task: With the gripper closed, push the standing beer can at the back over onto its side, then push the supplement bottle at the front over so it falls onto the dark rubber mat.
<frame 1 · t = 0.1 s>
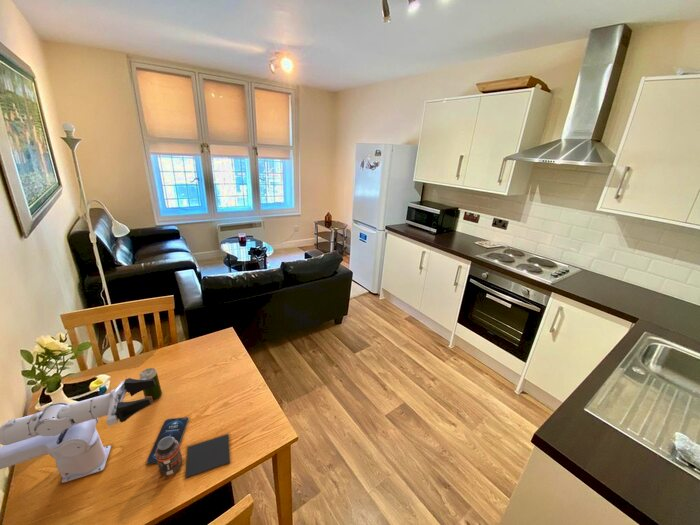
hand: (152, 391, 86), 22 cm above the table, tool horizontal, fingers open, 7 cm apart
smartphone: (169, 439, 94), on the table, touching supplement bottle
supplement bottle: (172, 467, 87), on the table, touching smartphone
beer can: (154, 397, 109), on the table
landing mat: (208, 454, 90), on the table
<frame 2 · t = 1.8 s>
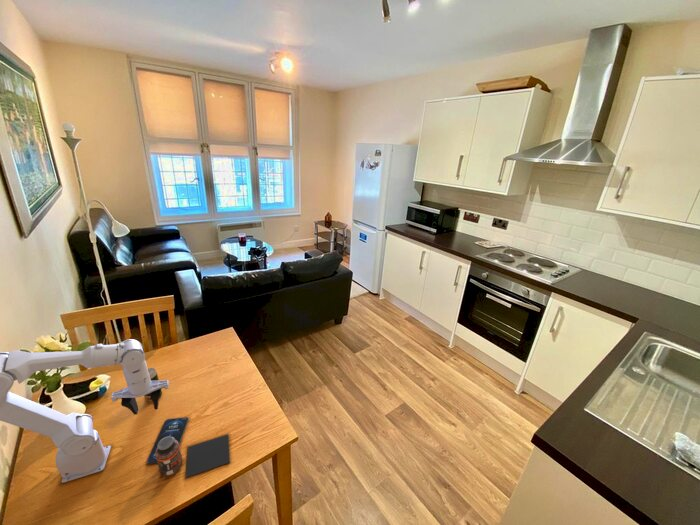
hand: (146, 409, 92), 10 cm above the table, tool pointing down, fingers open, 5 cm apart
nothing on the table moved.
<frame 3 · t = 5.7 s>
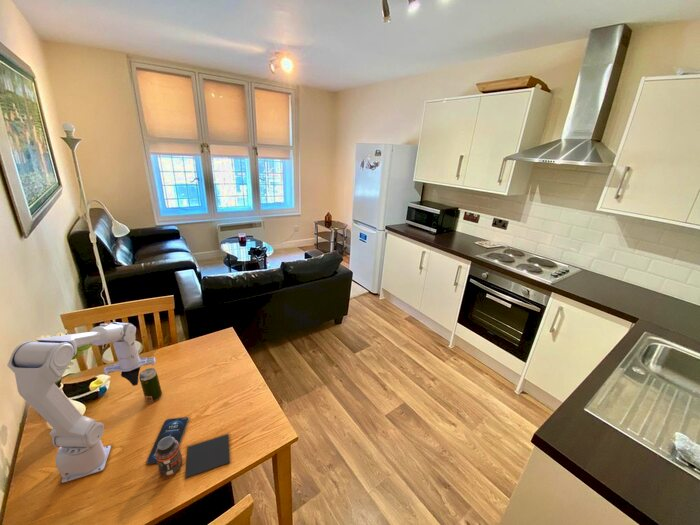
hand: (135, 383, 104), 8 cm above the table, tool pointing down, fingers closed
beer can: (154, 397, 109), on the table, touching gripper
everything else where it was.
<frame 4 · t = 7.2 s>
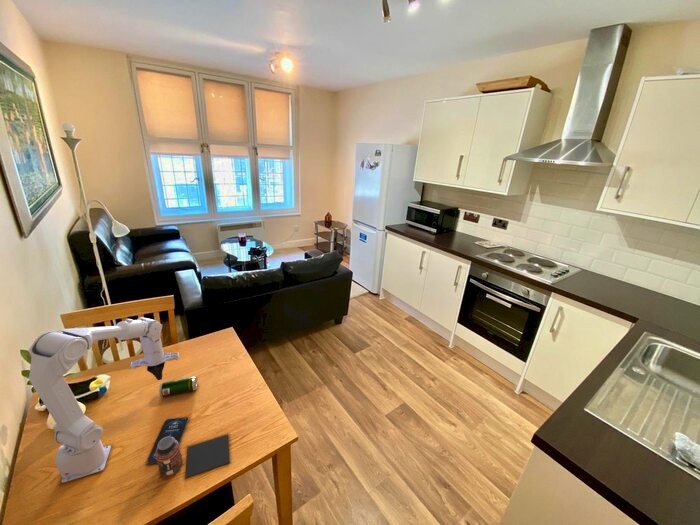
hand: (160, 378, 107), 8 cm above the table, tool pointing down, fingers closed
beer can: (160, 390, 109), point 3 cm above the table
everything else where it was.
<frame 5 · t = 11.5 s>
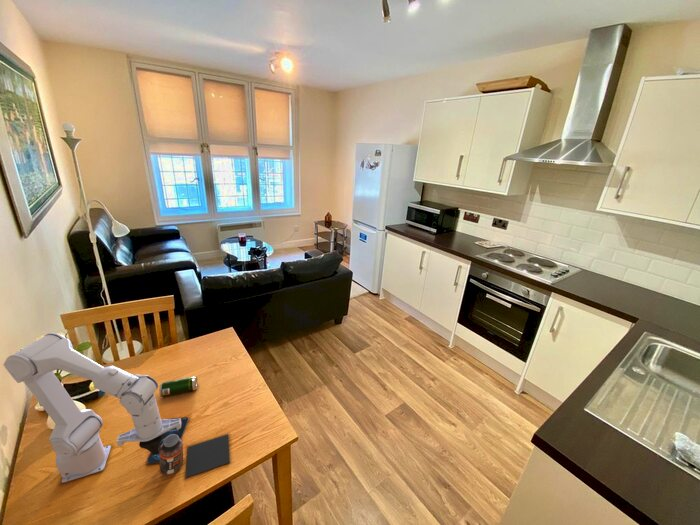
hand: (156, 451, 82), 8 cm above the table, tool pointing down, fingers closed
smartphone: (169, 439, 94), on the table
supplement bottle: (171, 466, 86), on the table, touching gripper
everything else where it was.
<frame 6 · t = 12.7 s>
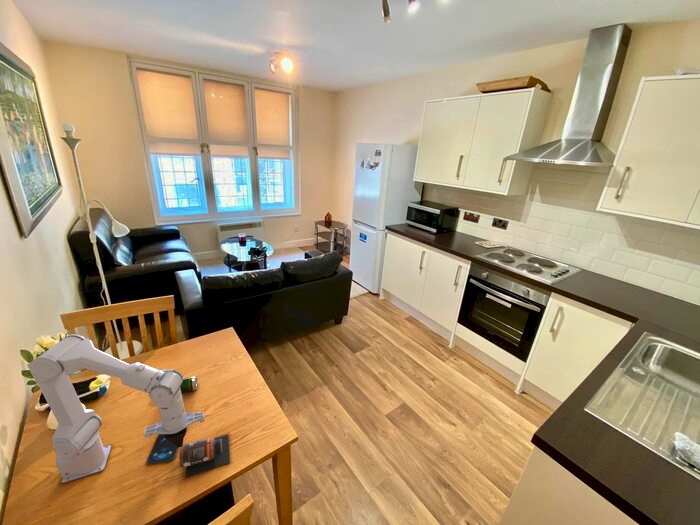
hand: (180, 444, 85), 8 cm above the table, tool pointing down, fingers closed
supplement bottle: (180, 457, 86), point 3 cm above the table, touching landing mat
everything else where it was.
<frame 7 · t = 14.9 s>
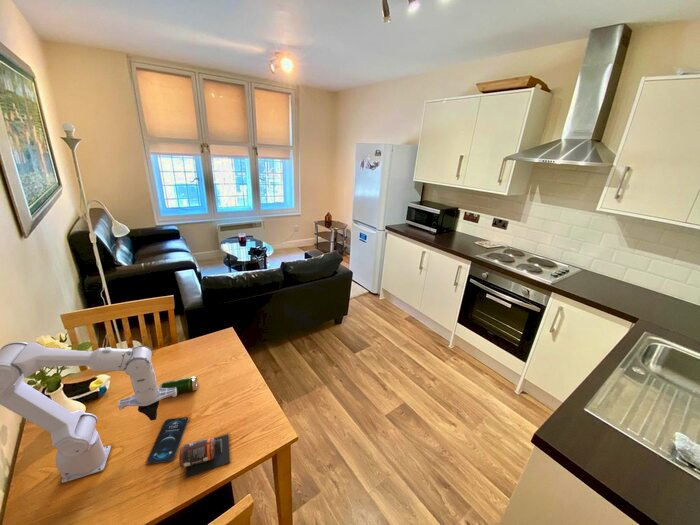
hand: (154, 417, 90), 10 cm above the table, tool pointing down, fingers closed
nothing on the table moved.
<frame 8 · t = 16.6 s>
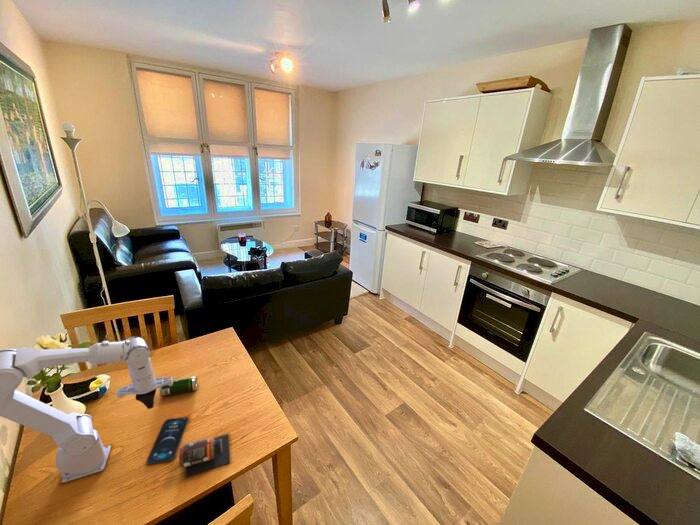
hand: (151, 406, 94), 10 cm above the table, tool pointing down, fingers closed
nothing on the table moved.
at the end: beer can tilted 90°; supplement bottle tilted 90°; smartphone moved 0.0 cm from its start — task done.
